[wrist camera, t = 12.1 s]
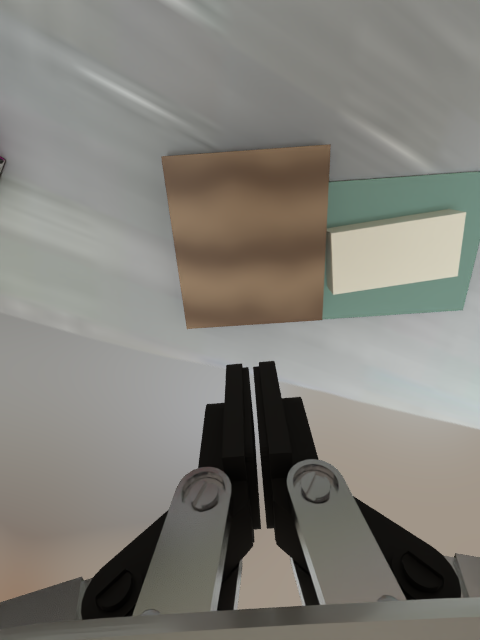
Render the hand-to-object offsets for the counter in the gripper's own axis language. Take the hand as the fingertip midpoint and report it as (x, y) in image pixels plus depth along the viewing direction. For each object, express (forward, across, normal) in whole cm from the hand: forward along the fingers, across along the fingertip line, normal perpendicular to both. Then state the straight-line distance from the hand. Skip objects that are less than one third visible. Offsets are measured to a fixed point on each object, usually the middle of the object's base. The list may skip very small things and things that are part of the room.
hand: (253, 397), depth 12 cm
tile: (+24, -14, +2) cm, 28 cm away
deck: (+24, -1, 0) cm, 24 cm away
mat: (+24, -16, +2) cm, 29 cm away
